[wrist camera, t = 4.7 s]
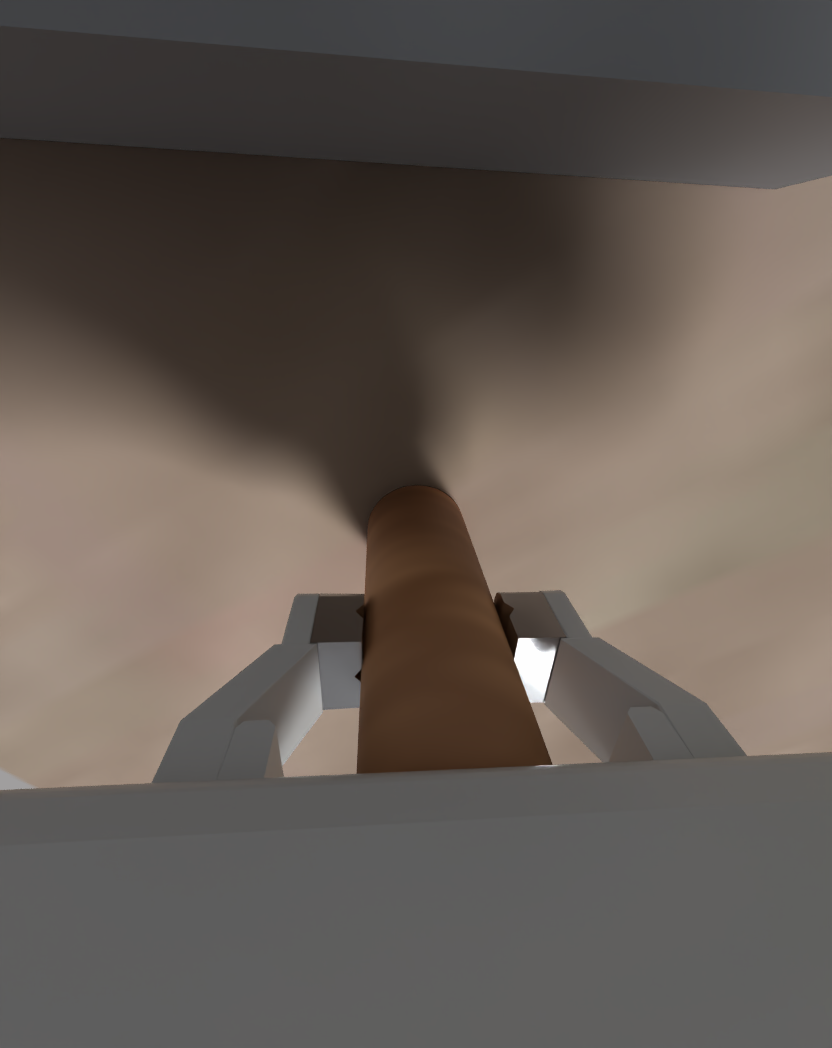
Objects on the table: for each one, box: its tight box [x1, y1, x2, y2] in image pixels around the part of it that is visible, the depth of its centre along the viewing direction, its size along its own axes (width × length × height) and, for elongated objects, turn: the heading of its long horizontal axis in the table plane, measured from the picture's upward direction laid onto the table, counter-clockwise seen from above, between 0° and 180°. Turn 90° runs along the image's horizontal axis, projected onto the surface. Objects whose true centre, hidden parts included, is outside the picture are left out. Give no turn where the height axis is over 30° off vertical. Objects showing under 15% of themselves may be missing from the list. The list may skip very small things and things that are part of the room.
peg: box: [357, 485, 552, 774], centre depth 10 cm, size 3×3×9 cm
